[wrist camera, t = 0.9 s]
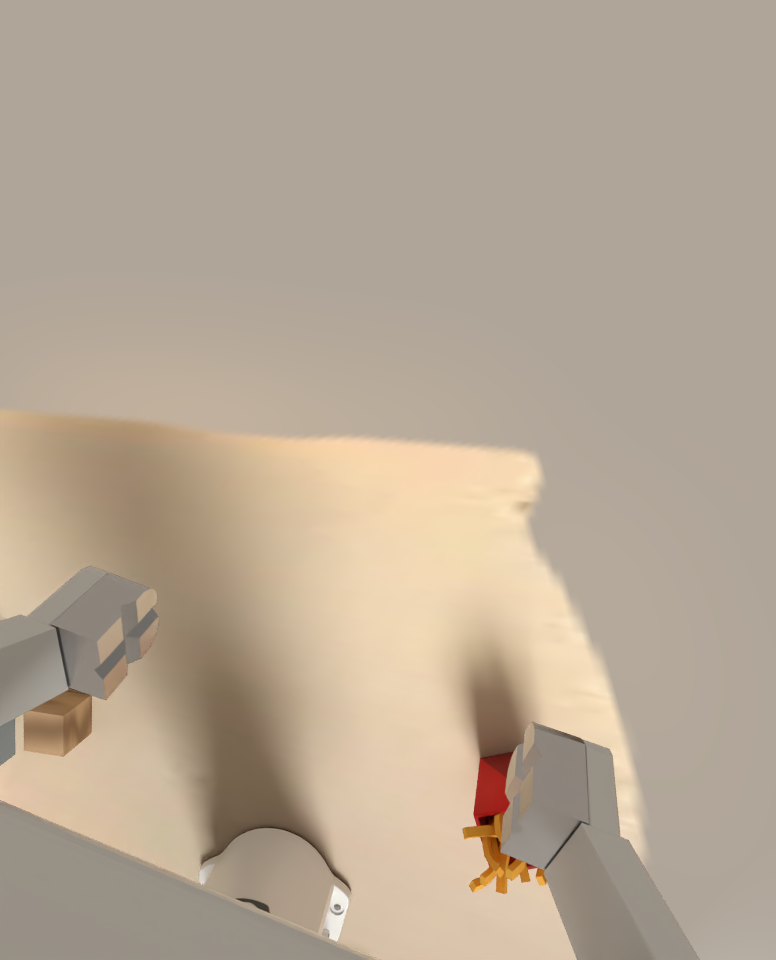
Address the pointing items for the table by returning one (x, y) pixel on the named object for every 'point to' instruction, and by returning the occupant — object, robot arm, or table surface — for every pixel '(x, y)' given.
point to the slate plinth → (7, 741)
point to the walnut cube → (58, 724)
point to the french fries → (495, 826)
